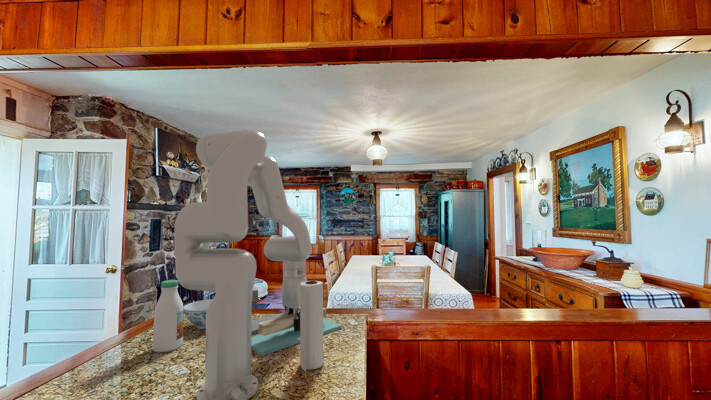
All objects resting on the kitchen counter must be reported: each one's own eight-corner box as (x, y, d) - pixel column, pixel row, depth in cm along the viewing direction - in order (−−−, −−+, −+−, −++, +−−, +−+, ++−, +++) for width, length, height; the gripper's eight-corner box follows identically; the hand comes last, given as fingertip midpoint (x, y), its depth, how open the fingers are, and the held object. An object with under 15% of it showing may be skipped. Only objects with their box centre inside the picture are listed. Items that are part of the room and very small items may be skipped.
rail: (326, 316, 108) (326, 308, 108) (264, 336, 91) (264, 325, 91) (320, 314, 110) (320, 306, 110) (258, 333, 93) (258, 323, 94)
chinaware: (195, 336, 100) (195, 313, 101) (175, 327, 109) (176, 305, 110) (236, 323, 112) (236, 302, 113) (215, 316, 121) (216, 297, 122)
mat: (341, 328, 106) (341, 325, 106) (262, 356, 85) (262, 352, 85) (318, 319, 115) (318, 317, 115) (242, 343, 94) (242, 339, 94)
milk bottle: (168, 354, 87) (170, 283, 89) (146, 352, 89) (148, 283, 90) (188, 343, 95) (189, 278, 96) (167, 341, 96) (169, 278, 98)
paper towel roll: (313, 357, 84) (313, 279, 85) (328, 364, 79) (327, 281, 81) (291, 366, 78) (291, 283, 80) (305, 374, 74) (305, 286, 76)
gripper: (318, 274, 98) (319, 332, 97) (290, 269, 110) (290, 320, 109) (299, 277, 93) (299, 339, 92) (271, 271, 105) (271, 325, 104)
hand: (294, 328), depth 100 cm, fingers closed on rail, 3 cm apart
